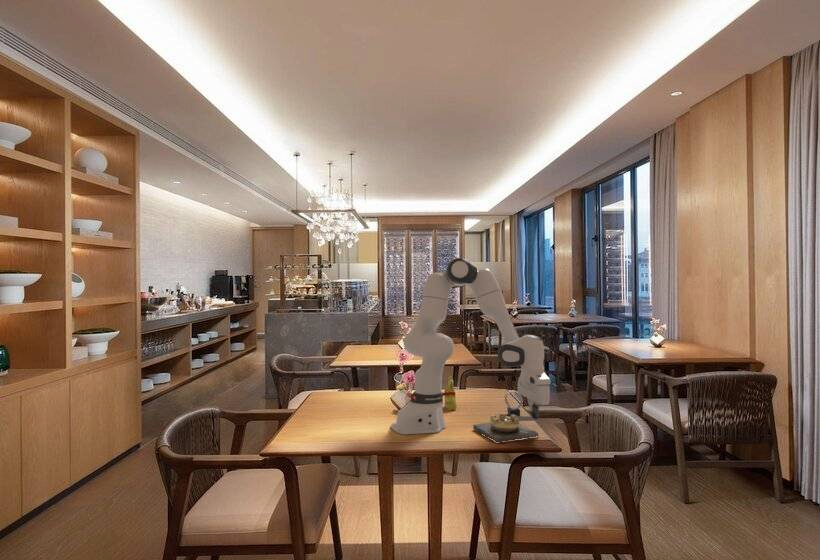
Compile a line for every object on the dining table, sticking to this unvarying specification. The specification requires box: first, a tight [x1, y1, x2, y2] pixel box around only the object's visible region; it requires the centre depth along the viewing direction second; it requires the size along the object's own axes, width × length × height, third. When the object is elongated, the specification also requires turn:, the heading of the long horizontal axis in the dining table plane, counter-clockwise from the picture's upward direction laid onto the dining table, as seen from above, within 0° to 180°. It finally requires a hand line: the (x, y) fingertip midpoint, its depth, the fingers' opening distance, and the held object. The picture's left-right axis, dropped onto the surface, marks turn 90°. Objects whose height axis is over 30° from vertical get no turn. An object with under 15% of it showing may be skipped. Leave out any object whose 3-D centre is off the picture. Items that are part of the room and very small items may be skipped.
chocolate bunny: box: [443, 376, 457, 411], centre depth 224 cm, size 7×11×15 cm, turn 8°
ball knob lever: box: [490, 404, 540, 432], centre depth 186 cm, size 19×11×9 cm, turn 90°
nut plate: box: [472, 421, 539, 442], centre depth 186 cm, size 18×18×2 cm
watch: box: [504, 389, 524, 416], centre depth 211 cm, size 6×8×11 cm
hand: (532, 410), depth 189 cm, fingers closed
